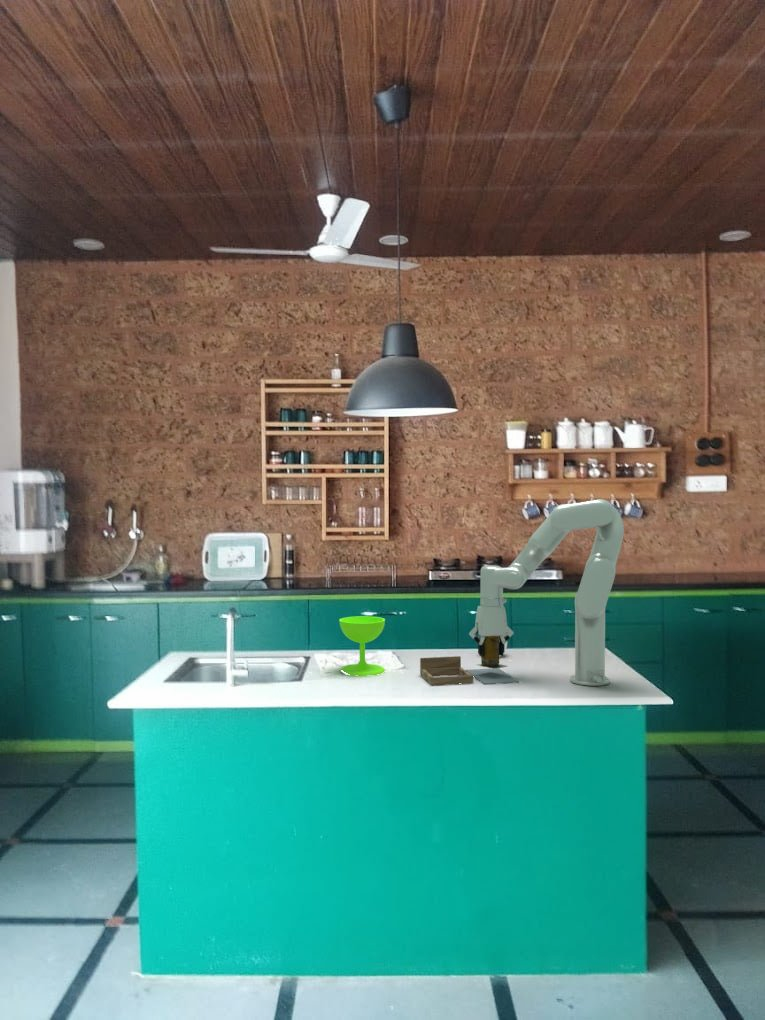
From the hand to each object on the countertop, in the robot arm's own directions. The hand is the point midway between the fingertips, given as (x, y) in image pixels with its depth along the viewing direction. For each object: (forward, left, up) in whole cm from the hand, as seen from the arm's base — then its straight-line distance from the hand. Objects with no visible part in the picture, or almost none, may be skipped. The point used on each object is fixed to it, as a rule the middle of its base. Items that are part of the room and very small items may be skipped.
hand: (491, 655), depth 285 cm
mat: (0, 0, -7) cm, 7 cm away
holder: (-1, +16, -7) cm, 18 cm away
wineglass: (+18, +41, -8) cm, 45 cm away
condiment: (0, 0, -4) cm, 4 cm away
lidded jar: (+33, -12, -8) cm, 36 cm away
